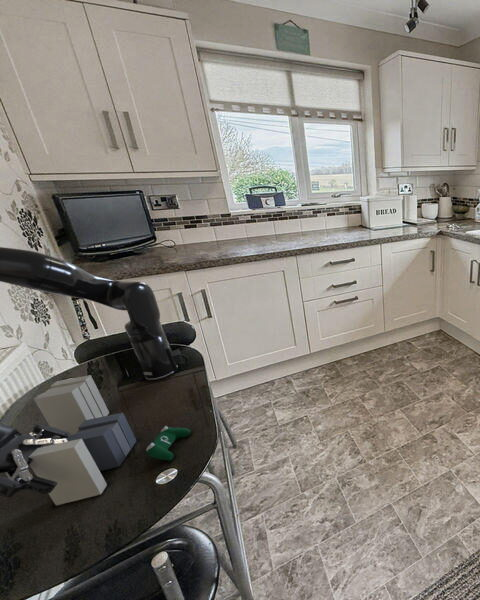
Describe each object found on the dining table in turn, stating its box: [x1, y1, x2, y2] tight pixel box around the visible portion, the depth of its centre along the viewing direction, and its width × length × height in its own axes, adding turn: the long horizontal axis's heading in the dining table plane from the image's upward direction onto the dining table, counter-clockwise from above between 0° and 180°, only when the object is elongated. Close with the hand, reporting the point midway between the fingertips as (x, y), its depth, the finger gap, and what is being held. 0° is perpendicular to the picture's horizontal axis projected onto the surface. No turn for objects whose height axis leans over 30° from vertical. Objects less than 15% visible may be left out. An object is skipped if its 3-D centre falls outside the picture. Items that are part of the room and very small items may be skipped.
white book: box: [29, 439, 108, 506], centre depth 67 cm, size 2×8×13 cm, turn 105°
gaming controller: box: [145, 425, 191, 461], centre depth 79 cm, size 9×4×6 cm
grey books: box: [68, 412, 137, 472], centre depth 77 cm, size 8×8×9 cm
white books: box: [33, 374, 110, 437], centre depth 88 cm, size 8×8×13 cm
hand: (69, 470), depth 66 cm, fingers open, 8 cm apart
